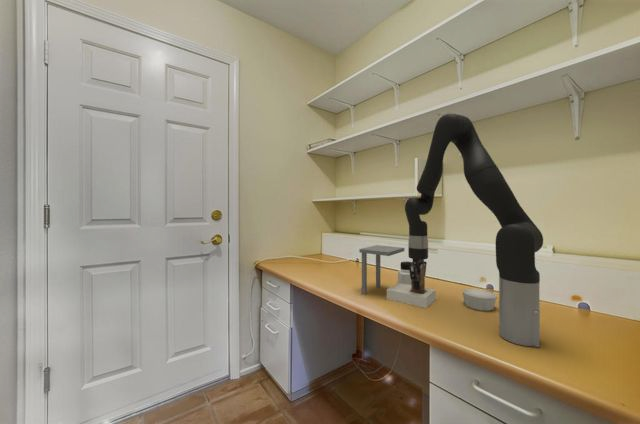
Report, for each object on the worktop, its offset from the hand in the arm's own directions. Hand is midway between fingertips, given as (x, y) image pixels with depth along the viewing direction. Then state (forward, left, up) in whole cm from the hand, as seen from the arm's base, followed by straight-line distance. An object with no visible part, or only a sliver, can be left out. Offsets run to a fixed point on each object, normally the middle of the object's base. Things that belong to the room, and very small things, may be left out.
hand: (418, 288), depth 104 cm
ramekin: (-20, -9, -6) cm, 23 cm away
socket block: (+3, 0, -5) cm, 6 cm away
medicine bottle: (+11, -16, -6) cm, 20 cm away
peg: (0, 0, -4) cm, 4 cm away
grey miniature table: (+16, 0, -5) cm, 17 cm away
